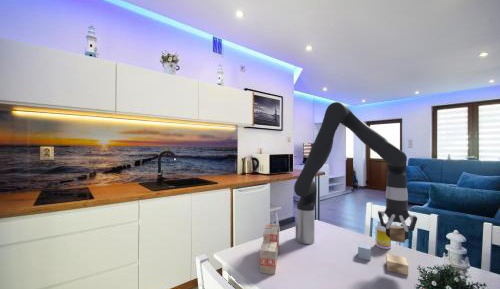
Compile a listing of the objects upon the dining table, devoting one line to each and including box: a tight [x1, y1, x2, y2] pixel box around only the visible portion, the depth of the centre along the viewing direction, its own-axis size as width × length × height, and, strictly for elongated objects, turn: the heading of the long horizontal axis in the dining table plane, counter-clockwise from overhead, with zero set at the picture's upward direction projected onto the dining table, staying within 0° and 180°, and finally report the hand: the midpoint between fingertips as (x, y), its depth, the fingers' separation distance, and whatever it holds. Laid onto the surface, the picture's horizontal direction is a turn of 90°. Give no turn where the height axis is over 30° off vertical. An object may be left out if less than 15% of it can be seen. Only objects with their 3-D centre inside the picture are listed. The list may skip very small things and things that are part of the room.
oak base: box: [385, 253, 409, 276], centre depth 90 cm, size 7×7×4 cm
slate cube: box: [357, 242, 372, 261], centre depth 99 cm, size 5×5×5 cm
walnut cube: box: [390, 224, 406, 244], centre depth 90 cm, size 5×5×5 cm
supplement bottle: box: [374, 219, 392, 250], centre depth 109 cm, size 7×7×13 cm
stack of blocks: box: [259, 223, 280, 275], centre depth 96 cm, size 21×6×12 cm, turn 168°
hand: (396, 238), depth 90 cm, fingers closed on walnut cube, 5 cm apart
